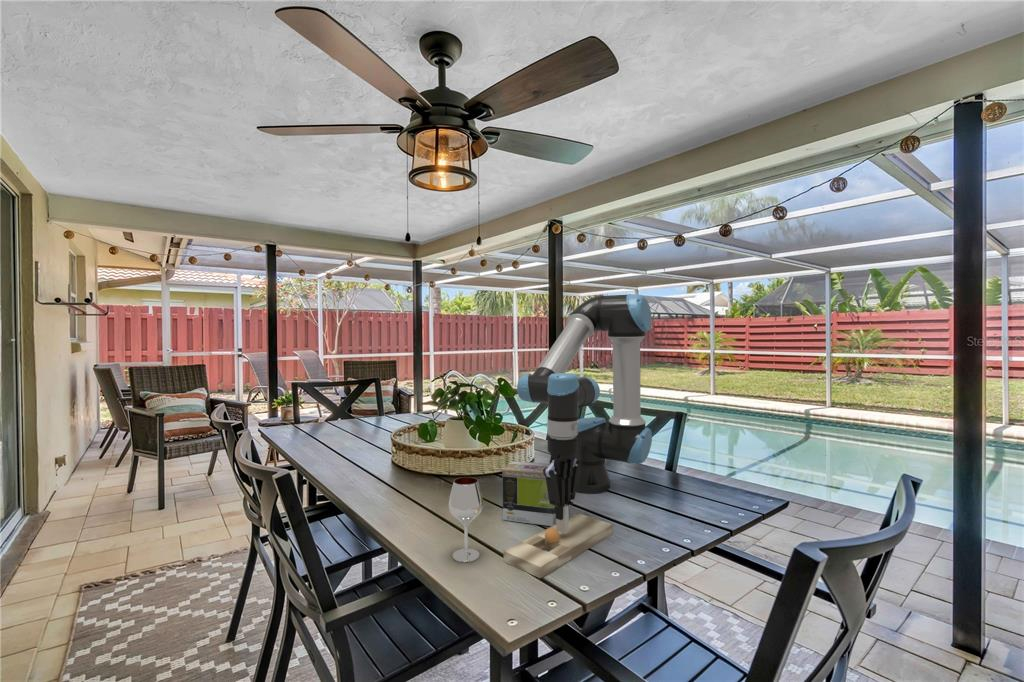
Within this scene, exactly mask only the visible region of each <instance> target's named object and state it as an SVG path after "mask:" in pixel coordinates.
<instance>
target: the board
mask: <svg viewBox="0 0 1024 682" xmlns="http://www.w3.org/2000/svg"><path fill="white" fill-rule="evenodd" d="M549 528H555V529H556V523H555V525H553V526H548V528H545V529H543V530H542V531H540V532H537V533H536V534H534V535H532V536H530V537H528V538H526V539H524V540H521V541H520V542H518V543H517V544H514V545H513V546H510V547H508V548H506V549H505V550H503V562H504V563H506V564H508V565H510V566H512V567H515V568H517V569H519V570H521V571H523V572H525V573H527V574H529V575H531V576H534V577H537V578H538V579H542V578H543V577H545V576H547V575H549V574H550V573H551V572H553V571H555V570H556V569H557V568H560V567H562V566H563V565H565V564H566V563H567V562H569V561H570V560H572V559H575V558H576V557H578V556H579V555H581V554H582V553H584V552H585V551H587V550H588V549H591V548H592V547H593V546H596V544H598V543H600V542H601V541H602V540H605V539H607V538H608V537H609V536H611V535H612V534H613V524H612V523H609V522H606V521H602V520H600V519H597V518H594V517H590V516H587V515H586V514H585V515H584V514H581V513H575V514H573V515H572V516H569V531H568V532H567V533H563V532H560V531H558V532H559V540H558V541H557V542H556V543H549V542H547V540H546V539H545V532H546V530H547V529H549ZM546 550H547V551H546Z"/></svg>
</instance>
